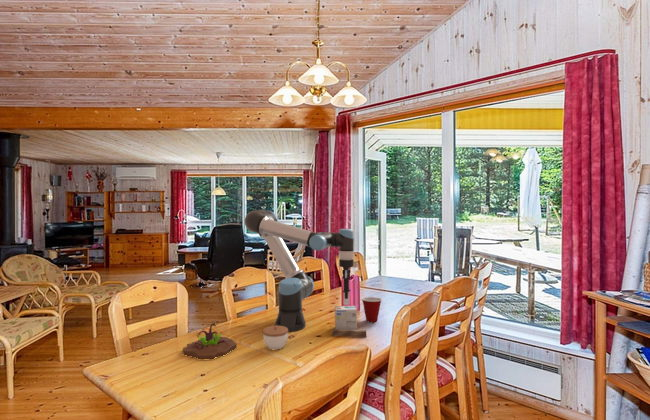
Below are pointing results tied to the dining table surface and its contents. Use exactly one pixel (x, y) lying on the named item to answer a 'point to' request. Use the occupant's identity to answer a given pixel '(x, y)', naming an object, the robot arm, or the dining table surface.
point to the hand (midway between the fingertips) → (346, 304)
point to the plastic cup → (371, 308)
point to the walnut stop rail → (349, 333)
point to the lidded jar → (275, 336)
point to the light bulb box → (346, 317)
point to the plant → (209, 345)
